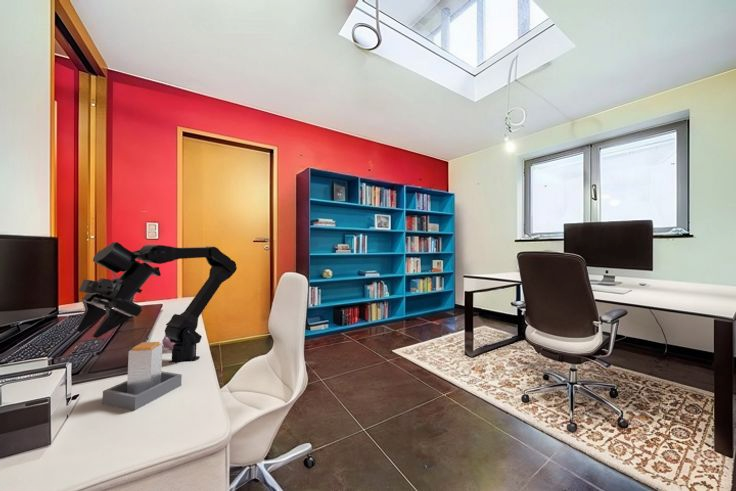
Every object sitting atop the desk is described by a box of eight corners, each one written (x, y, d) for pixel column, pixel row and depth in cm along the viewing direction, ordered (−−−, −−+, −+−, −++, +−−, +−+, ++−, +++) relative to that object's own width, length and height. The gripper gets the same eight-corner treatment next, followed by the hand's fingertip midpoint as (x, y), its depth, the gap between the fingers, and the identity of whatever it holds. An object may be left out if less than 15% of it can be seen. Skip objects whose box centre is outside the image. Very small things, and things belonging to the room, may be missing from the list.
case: (152, 383, 77) (152, 369, 77) (181, 389, 75) (181, 374, 75) (102, 407, 65) (102, 391, 65) (134, 414, 63) (135, 397, 63)
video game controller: (174, 348, 108) (165, 333, 107) (186, 341, 110) (178, 326, 108) (167, 357, 99) (157, 341, 98) (180, 350, 100) (171, 334, 99)
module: (139, 389, 72) (141, 341, 72) (160, 388, 73) (162, 341, 73) (126, 400, 67) (128, 348, 67) (149, 398, 68) (151, 347, 68)
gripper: (85, 264, 76) (34, 316, 68) (120, 268, 68) (66, 328, 60) (124, 284, 84) (82, 332, 76) (159, 289, 76) (116, 344, 68)
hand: (86, 334), depth 70 cm, fingers open, 9 cm apart
